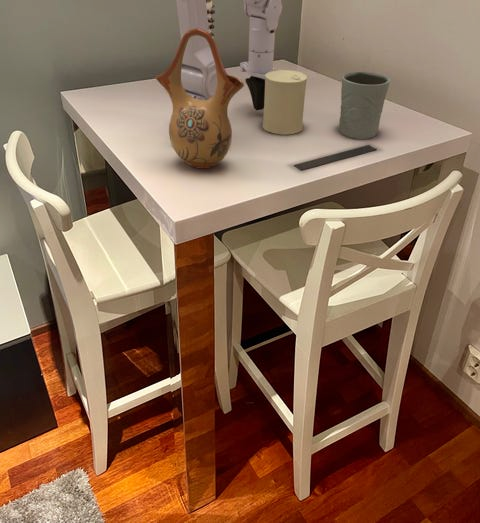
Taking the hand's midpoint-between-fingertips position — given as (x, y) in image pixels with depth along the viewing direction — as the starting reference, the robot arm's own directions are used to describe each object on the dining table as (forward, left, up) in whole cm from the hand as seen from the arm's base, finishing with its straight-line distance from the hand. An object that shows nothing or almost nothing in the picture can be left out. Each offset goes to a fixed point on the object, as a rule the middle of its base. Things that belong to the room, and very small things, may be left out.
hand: (258, 109), depth 125 cm
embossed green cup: (-6, -24, -1) cm, 24 cm away
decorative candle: (+22, +19, -1) cm, 29 cm away
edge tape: (-22, -19, -1) cm, 29 cm away
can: (-7, -7, -1) cm, 10 cm away
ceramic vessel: (-30, +7, -1) cm, 31 cm away
